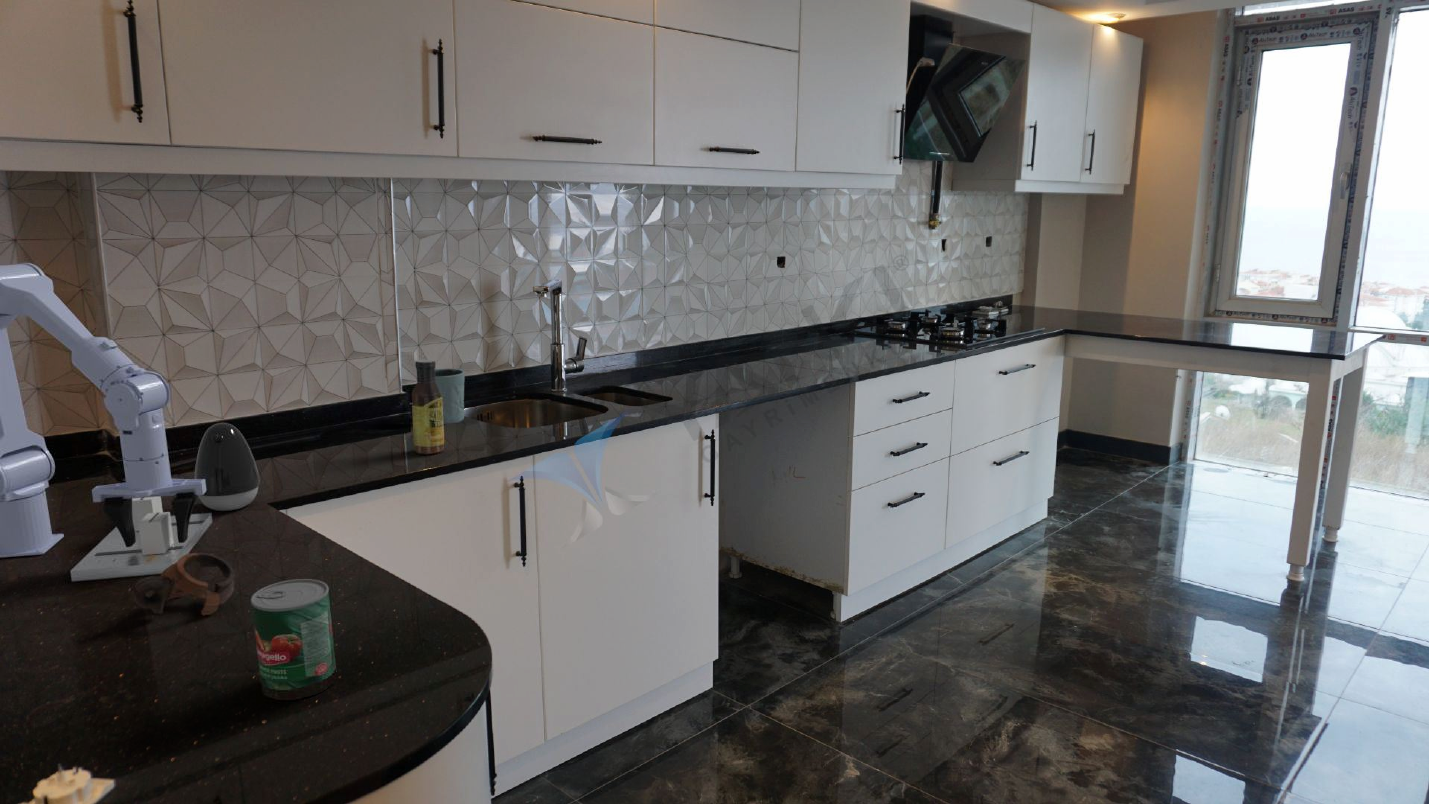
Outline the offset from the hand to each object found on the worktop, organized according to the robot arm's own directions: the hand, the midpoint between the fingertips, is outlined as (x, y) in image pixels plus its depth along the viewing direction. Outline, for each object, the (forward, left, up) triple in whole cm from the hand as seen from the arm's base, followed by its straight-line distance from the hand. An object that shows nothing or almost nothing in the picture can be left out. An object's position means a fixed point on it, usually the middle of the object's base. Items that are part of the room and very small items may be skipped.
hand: (157, 542), depth 139 cm
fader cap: (0, 0, -1) cm, 1 cm away
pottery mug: (+9, -20, -3) cm, 22 cm away
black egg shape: (+4, +24, -3) cm, 25 cm away
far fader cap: (-4, +11, -1) cm, 12 cm away
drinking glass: (+40, +82, -3) cm, 91 cm away
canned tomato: (+26, -44, -3) cm, 51 cm away
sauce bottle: (+37, +53, -3) cm, 65 cm away
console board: (-3, +5, -3) cm, 6 cm away
